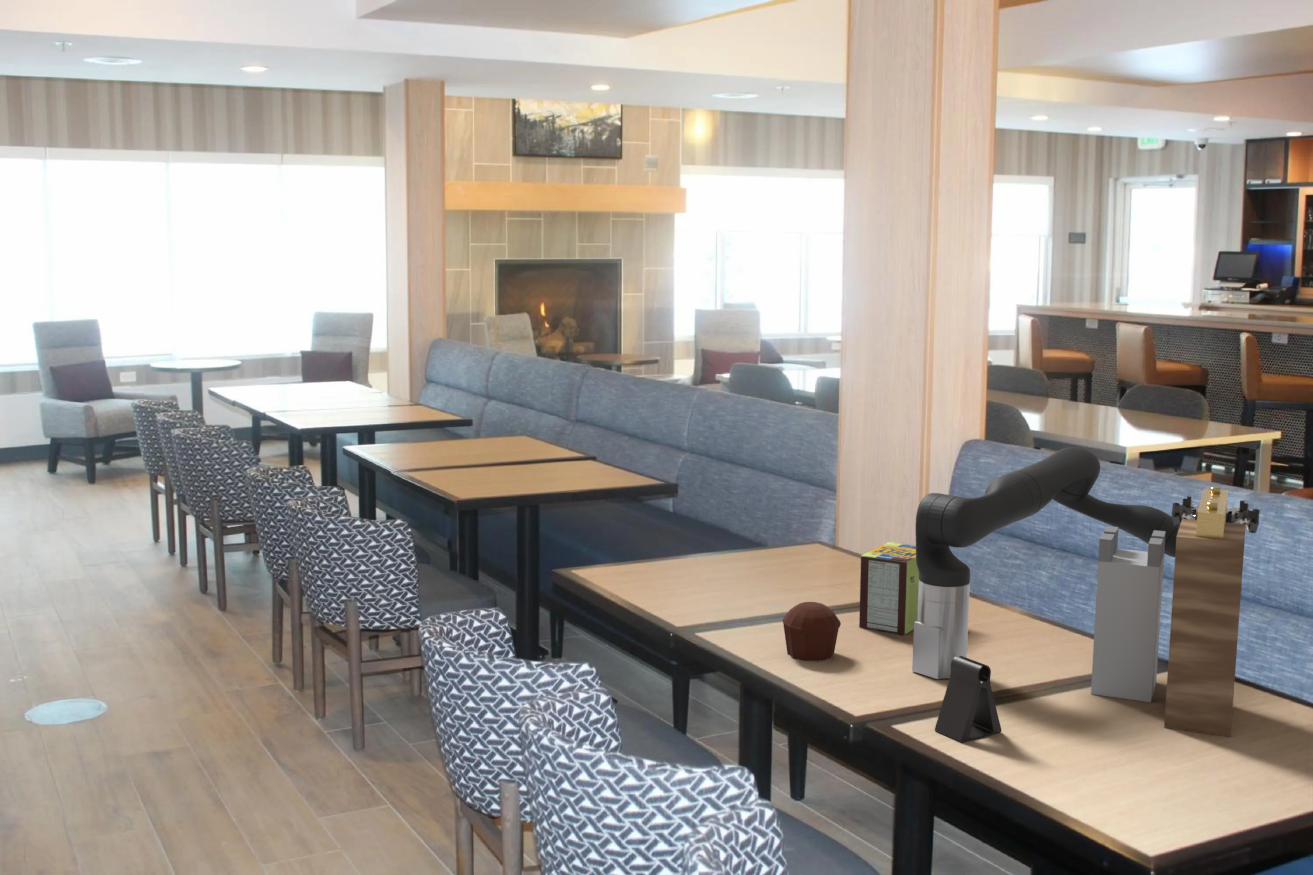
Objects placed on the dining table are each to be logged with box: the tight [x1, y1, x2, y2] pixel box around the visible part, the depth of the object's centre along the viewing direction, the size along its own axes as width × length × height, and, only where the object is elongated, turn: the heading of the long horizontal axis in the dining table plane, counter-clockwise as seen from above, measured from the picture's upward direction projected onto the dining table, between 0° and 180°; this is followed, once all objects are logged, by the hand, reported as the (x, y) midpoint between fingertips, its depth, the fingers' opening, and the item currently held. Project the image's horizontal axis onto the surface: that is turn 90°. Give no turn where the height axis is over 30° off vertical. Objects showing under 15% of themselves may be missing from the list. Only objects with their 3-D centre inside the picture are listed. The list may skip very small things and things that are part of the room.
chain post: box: [1090, 525, 1166, 703], centre depth 231 cm, size 12×10×28 cm
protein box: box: [858, 541, 919, 636], centre depth 272 cm, size 10×15×16 cm
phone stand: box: [934, 656, 1002, 744], centre depth 210 cm, size 9×6×12 cm, turn 121°
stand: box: [1164, 519, 1247, 738], centre depth 216 cm, size 16×10×32 cm, turn 155°
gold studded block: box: [1196, 486, 1229, 539], centre depth 219 cm, size 24×4×5 cm, turn 155°
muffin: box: [781, 601, 842, 662], centre depth 251 cm, size 12×11×10 cm
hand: (1215, 503), depth 226 cm, fingers open, 8 cm apart
